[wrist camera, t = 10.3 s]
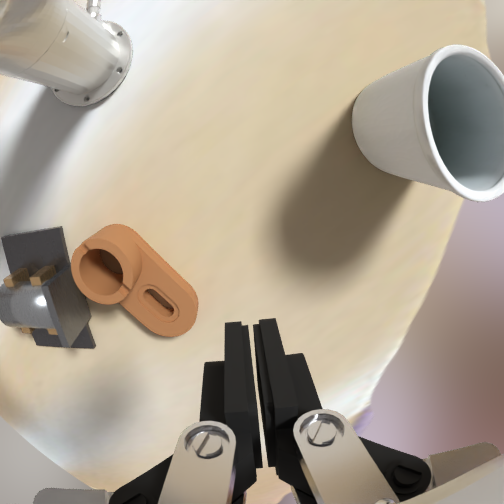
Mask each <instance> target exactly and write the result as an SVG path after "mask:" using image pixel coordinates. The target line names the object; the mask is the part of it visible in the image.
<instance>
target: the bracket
mask: <svg viewBox="0 0 504 504" xmlns="http://www.w3.org/2000/svg"><path fill="white" fill-rule="evenodd" d="M100 249H103V250H106V251H108V252H110V253H111V254H112V255H114V256H115V257H116V259H117V260H118V261H119V263H120V265H121V267H122V271H123V274H117V273H114V272H112V271H110V270H109V269H108V268H107V267H106V266H105V265H104V263H103V262H102V259H101V256H100ZM71 271H72V275H73V279H74V281H75V283H76V285H77V287H78V288H79V289H80V291H81V292H82V293H83V294H84V295H85V296H87V297H88V298H89V299H91V300H93V301H95V302H97V303H100V304H115V303H118V302H119V303H120V304H121V305H122V306H123V307H124V308H125V309H126V310H127V311H129V312H130V313H131V314H132V315H133V316H134V317H135V318H136V319H138V320H139V321H140V322H141V323H142V324H143V325H144V326H146V327H147V328H148V329H149V330H151V331H152V332H154V333H156V334H158V335H162V336H167V337H174V336H179V335H182V334H184V333H186V332H187V331H189V330H190V329H191V328H192V326H193V325H194V323H195V320H196V316H197V311H198V298H197V295H196V292H195V291H194V289H193V288H192V286H191V285H190V284H189V283H188V282H187V281H185V280H184V279H183V278H182V277H181V276H180V275H179V274H178V273H177V272H176V271H175V270H174V269H173V268H172V267H171V266H170V265H169V264H168V263H167V262H166V261H165V260H164V259H163V258H162V257H161V256H160V255H159V254H158V253H157V252H156V251H155V250H154V249H152V248H151V247H150V246H149V245H148V244H147V243H146V241H145V240H144V239H143V238H142V237H141V236H140V235H139V234H138V233H137V232H135V231H134V230H133V229H131V228H129V227H127V226H125V225H120V224H113V225H109V226H106V227H104V228H103V229H101V230H100V231H98V232H97V233H95V234H94V235H92V236H91V237H90V238H88V239H87V240H85V241H84V242H83V243H82V244H81V245H80V246H79V247H78V248H77V249H76V250H75V251H74V253H73V256H72V260H71ZM148 289H153V290H155V291H156V292H157V293H159V294H160V295H161V296H162V297H163V298H164V299H165V300H166V301H167V302H168V303H169V304H171V305H172V306H173V308H172V309H168V308H166V307H164V306H163V305H162V304H161V303H160V302H159V301H158V300H157V299H155V298H154V297H153V296H152V295H151V294H150V293H149V292H148Z"/></svg>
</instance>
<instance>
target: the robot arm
mask: <svg viewBox="0 0 504 504" xmlns="http://www.w3.org/2000/svg"><path fill="white" fill-rule="evenodd" d="M100 4H101V0H87V8H86V10H87V11H86V10H84V9H83V8H82V7H81V6H80V5H79V4H78V3H76V2H75V1H74V0H0V75H4V76H8V77H12V78H17V79H21V80H25V81H29V82H33V83H37V84H40V85H44V86H48V87H51V89H52V91H53V93H54V95H55V96H56V97H57V98H58V99H59V100H60V101H62V102H63V103H65V104H68V105H72V106H87V105H91V104H94V103H96V102H99V101H101V100H102V99H104V98H105V97H107V96H108V95H109V94H111V93H112V92H113V91H114V90H115V89H116V88H117V87H118V86H119V84H120V83H121V82H122V80H123V79H124V77H125V76H126V74H127V72H128V70H129V68H130V64H131V61H132V55H133V47H132V41H131V39H130V36H129V35H128V33H127V32H126V31H125V30H124V29H123V28H122V27H121V26H120V25H118V24H117V23H114V22H111V21H102V20H101V14H99V9H100ZM121 35H122V36H121ZM121 70H123V71H122V72H121V73H120V71H121ZM88 99H89V100H88ZM253 331H254V343H255V356H256V368H257V381H258V391H259V399H260V407H261V414H262V422H263V430H264V437H265V445H266V452H267V460H268V467H275V468H276V475H278V476H279V479H281V480H282V481H284V482H286V483H288V484H290V486H291V490H292V493H293V495H294V498H295V500H296V503H297V504H504V454H502V455H501V453H500V451H499V450H498V448H497V447H496V446H494V445H493V444H491V443H487V442H483V443H478V444H475V445H471V446H467V447H463V448H459V449H455V450H451V451H447V452H442V453H438V454H433V455H429V457H428V458H426V459H420V458H418V457H416V456H413V455H410V454H407V453H404V452H400V451H397V450H394V449H391V448H388V447H385V446H383V445H380V444H377V443H375V442H372V441H369V440H367V439H364V438H361V437H359V436H357V434H356V432H355V431H354V429H353V428H352V426H351V425H350V423H349V421H348V420H347V419H346V418H345V417H344V416H343V415H341V414H340V413H338V412H336V411H332V410H326V409H322V406H321V403H320V400H319V398H318V395H317V392H316V389H315V386H314V383H313V380H312V377H311V374H310V371H309V368H308V366H307V363H306V360H305V357H304V355H303V353H298V354H291V355H285V352H284V349H283V345H282V341H281V337H280V334H279V330H278V326H277V322H276V319H275V318H272V319H262V320H259V324H255V325H253ZM256 468H263V464H262V453H261V442H260V432H259V420H258V410H257V401H256V392H255V384H254V375H253V366H252V357H251V348H250V339H249V330H248V325H244V326H242V324H241V322H229V323H225V361H216V362H205V364H204V373H203V385H202V396H201V409H200V422H198V423H194V424H192V425H190V426H189V427H187V428H186V429H185V430H184V431H183V432H182V433H181V435H180V437H179V439H178V442H177V445H176V448H175V451H174V454H173V455H171V456H170V457H169V458H167V459H166V460H164V461H162V462H161V463H159V464H158V465H156V466H155V467H153V468H152V469H150V470H149V471H147V472H145V473H144V474H142V475H141V476H139V477H137V478H136V479H134V480H132V481H131V482H129V483H127V484H126V485H124V486H122V487H120V488H119V489H118V490H116V491H115V492H107V491H106V490H82V489H59V488H45V489H43V490H41V491H39V492H38V493H37V495H36V496H35V498H34V502H33V504H245V503H246V495H247V493H246V490H247V489H248V488H249V487H250V486H252V485H253V484H254V483H255V482H256V481H257V479H256V477H257V475H256Z"/></svg>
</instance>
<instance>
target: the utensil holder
mask: <svg viewBox="0 0 504 504" xmlns="http://www.w3.org/2000/svg"><path fill="white" fill-rule="evenodd" d="M352 129H353V134H354V137H355V140H356V143H357V145H358V147H359V149H360V150H361V152H362V153H363V155H364V156H365V157H366V159H367V160H368V161H369V162H370V163H371V164H373V165H374V166H375V167H377V168H378V169H380V170H382V171H384V172H387V173H389V174H392V175H396V176H399V177H402V178H406V179H409V180H413V181H417V182H420V183H424V184H428V185H431V186H435V187H438V188H442V189H445V190H449V191H452V192H453V193H455V194H457V195H459V196H461V197H463V198H465V199H468V200H471V201H476V202H487V201H490V200H493V199H495V198H497V197H499V196H500V195H501V194H503V193H504V76H503V75H502V73H501V71H500V70H499V69H498V68H497V67H496V66H495V64H494V63H493V62H492V61H491V60H490V59H489V58H488V57H486V56H485V55H484V54H482V53H481V52H479V51H477V50H476V49H473V48H471V47H468V46H465V45H449V46H445V47H442V48H440V49H438V50H436V51H434V52H433V53H432V54H430V55H429V56H427V57H425V58H423V59H420V60H418V61H416V62H414V63H411V64H409V65H407V66H405V67H402V68H400V69H398V70H396V71H393V72H391V73H389V74H387V75H385V76H383V77H381V78H380V79H378V80H376V81H374V82H372V83H371V84H369V85H368V86H367V87H365V88H364V89H363V90H362V92H361V93H360V94H359V96H358V97H357V99H356V101H355V104H354V107H353V112H352Z"/></svg>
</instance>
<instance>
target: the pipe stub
mask: <svg viewBox="0 0 504 504" xmlns="http://www.w3.org/2000/svg"><path fill="white" fill-rule="evenodd" d="M1 239H2V243H3V247H4V251H5V255H6V259H7V263H8V266H9V270H10V273H11V274H10V275H9V276H7V277H6V278H5V279H3V280H4V284H2V285H1V287H0V320H1V321H2V322H3V323H4V324H5V325H6V326H9V327H21V330H22V332H23V333H32V335H33V338H34V340H35V342H36V345H40V346H54V347H69V348H70V347H71V348H95V346H96V345H95V342H94V339H93V336H92V334H91V331H90V328H89V325H88V321H89V319H90V318H91V314H90V311H89V307H88V304H87V301H86V297H85V295H84V294H83V293H82V292H81V291H80V289H79V288H78V287H77V285H76V283H75V281H74V279H73V275H72V271H71V263H70V260H69V256H68V252H67V247H66V243H65V238H64V233H63V228H62V226H60V227H54V228H48V229H42V230H36V231H30V232H24V233H19V234H13V235H8V236H4V237H2V238H1Z"/></svg>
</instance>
